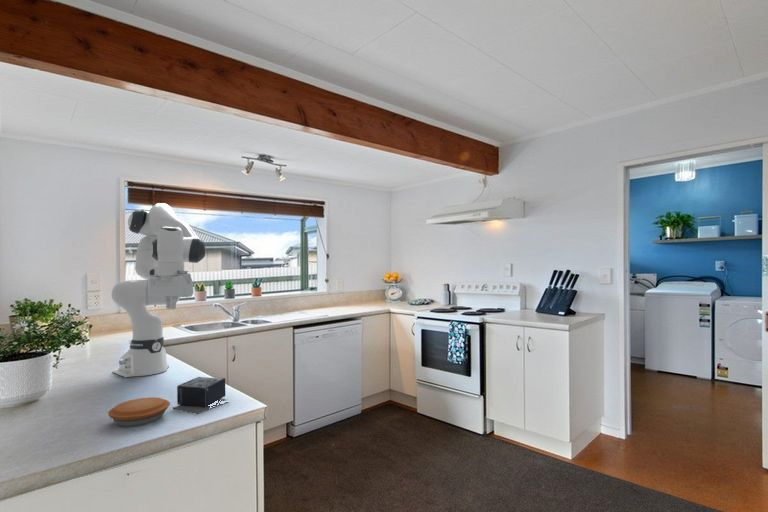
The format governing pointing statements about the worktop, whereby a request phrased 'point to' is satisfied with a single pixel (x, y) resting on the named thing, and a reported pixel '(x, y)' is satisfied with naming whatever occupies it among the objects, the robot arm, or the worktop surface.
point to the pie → (138, 411)
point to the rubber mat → (193, 408)
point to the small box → (201, 391)
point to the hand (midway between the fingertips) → (171, 309)
